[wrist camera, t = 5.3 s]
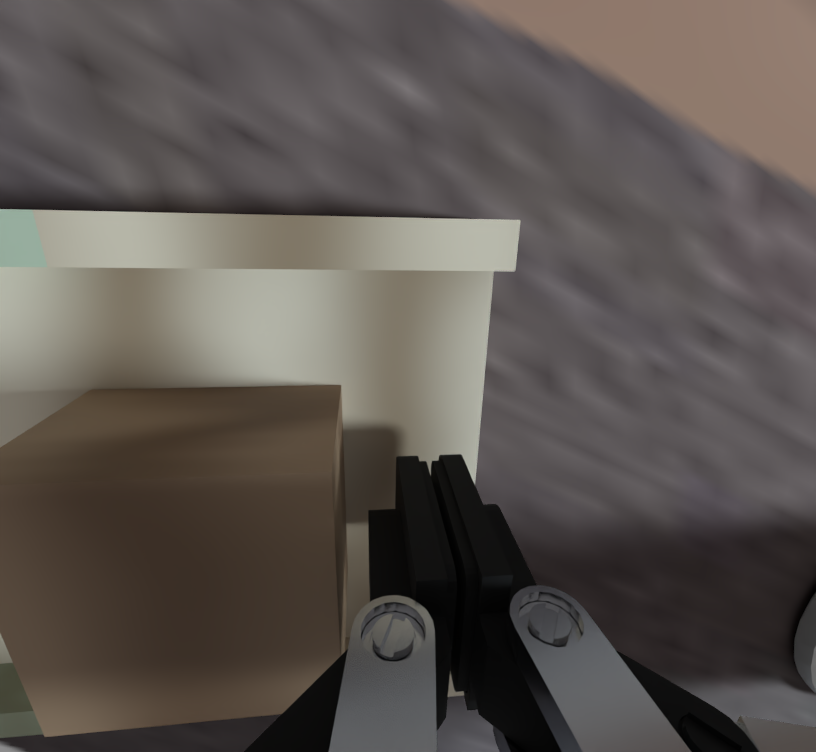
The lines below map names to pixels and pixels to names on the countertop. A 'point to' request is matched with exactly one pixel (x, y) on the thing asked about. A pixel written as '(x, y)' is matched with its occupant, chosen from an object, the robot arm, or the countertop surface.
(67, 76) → the countertop surface
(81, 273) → the trap lane
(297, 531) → the walnut block
